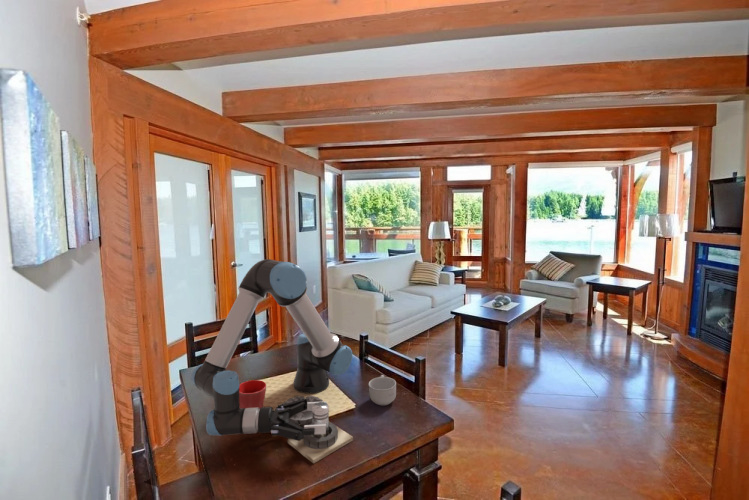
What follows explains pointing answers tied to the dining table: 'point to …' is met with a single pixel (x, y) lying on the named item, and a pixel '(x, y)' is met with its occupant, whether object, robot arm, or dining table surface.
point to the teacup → (382, 390)
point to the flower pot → (252, 394)
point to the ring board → (321, 452)
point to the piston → (320, 417)
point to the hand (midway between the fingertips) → (326, 416)
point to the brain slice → (305, 415)
